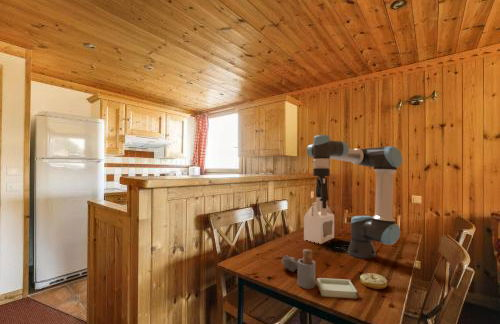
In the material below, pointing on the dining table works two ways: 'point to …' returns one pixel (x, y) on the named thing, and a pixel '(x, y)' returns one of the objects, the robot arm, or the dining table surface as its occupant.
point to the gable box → (318, 225)
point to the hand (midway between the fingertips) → (321, 212)
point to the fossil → (289, 263)
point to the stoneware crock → (306, 274)
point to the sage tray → (336, 288)
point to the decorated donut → (373, 281)
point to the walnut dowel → (307, 256)
